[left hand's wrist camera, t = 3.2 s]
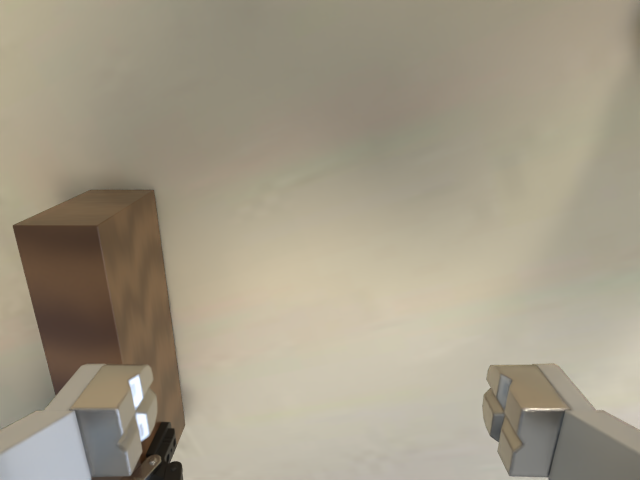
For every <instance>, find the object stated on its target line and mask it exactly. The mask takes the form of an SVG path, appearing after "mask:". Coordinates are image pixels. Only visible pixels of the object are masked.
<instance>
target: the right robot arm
mask: <svg viewBox="0 0 640 480" xmlns="http://www.w3.org/2000/svg"><path fill="white" fill-rule="evenodd" d="M176 447H177V443H176V435H175V428H172V427H171V422H161V424H160V426H159V428H158V430H157V432H156V434H155V436H154V438H153V440H152V442H151V444H150V446H149V449H148V451H147V453H146V459H145V461H144V462H143V463H142V464H141V465H140V466H139V467H138V468H137V469H136V470H135V471H134V472H133V473H132V474H131V476H123V477H122V478H121V479H120V480H183V475H182V472H183V470H182V464H181V463H180V462H177V461H175V462H171V463H170V461H171V459H172V457H173V454H174V451H175V449H176Z"/></svg>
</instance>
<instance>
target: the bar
mask: <svg viewBox="0 0 640 480" xmlns="http://www.w3.org/2000/svg"><path fill="white" fill-rule="evenodd" d="M13 229H14V233H15V237H16V241H17V245H18V249H19V253H20V257H21V261H22V265H23V269H24V273H25V277H26V280H27V284H28V288H29V292H30V296H31V300H32V304H33V308H34V312H35V316H36V320H37V324H38V328H39V332H40V336H41V340H42V343H43V347H44V351H45V355H46V359H47V363H48V367H49V371H50V375H51V379H52V383H53V387H54V391H55V395H57V394H58V393H59V391H60V390H61V389H62V388H63V387H64V386H65V384H66V383H67V382H68V381H69V380H70V378H71V377H72V376H73V375H74V374H75V372H76V371H77V370H78V369H79V368H80V367H81V366H82V365H85V364H142V365H149V366H150V367H151V369H152V373H153V378H154V380H153V381H152V383H151V385H150V387H149V388H150V389H151V390H152V391H153V392H154V393H155V394H156V397H157V417H156V421H155V426H154V428H153V430H152V433H151V435H150V436H149V437H148V438H146V439H145V440H144V441H142V442H141V445H142V451H143V452H142V454H141V456H140V458H139V460H138V462H137V464H136V466H135V468H134V470H133V472H134V471H135V470H136V469H137V468H138V467H139V466H140V465H141V464H142V463H143V462H144V461H145V459H146V453H147V451H148V449H149V446H150V444H151V442H152V440H153V438H154V436H155V434H156V432H157V430H158V428H159V426H160V424H161V422H171V427H172V428H175V435H176V443H177V444H178V441H179V439H180V437H181V434H182V432H183V429H184V427H185V420H184V412H183V405H182V397H181V390H180V382H179V375H178V367H177V360H176V352H175V345H174V337H173V330H172V322H171V315H170V307H169V300H168V292H167V285H166V277H165V270H164V262H163V255H162V247H161V240H160V232H159V225H158V217H157V210H156V202H155V195H154V190H89V191H87V192H85V193H83V194H81V195H78V196H76V197H74V198H72V199H70V200H67V201H65V202H63V203H61V204H59V205H56V206H54V207H52V208H50V209H48V210H45V211H43V212H41V213H39V214H37V215H35V216H32V217H30V218H28V219H26V220H24V221H21V222H19V223H17V224H15V225H13ZM133 472H132V473H133ZM122 477H123V476H117V477H91V480H120V479H121V478H122Z"/></svg>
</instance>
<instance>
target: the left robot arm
mask: <svg viewBox="0 0 640 480" xmlns="http://www.w3.org/2000/svg"><path fill="white" fill-rule="evenodd" d="M153 380H154V378H153V373H152V369H151V367H150V366H149V365H142V364H85V365H82V366H81V367H80V368H79V369H78V370H77V371H76V372H75V374H74V375H73V376H72V377H71V378H70V380H69V381H68V382H67V383H66V384H65V386H64V387H63V388H62V389H61V390H60V391H59V393H58V394H57V395H56V396H55V397H54V399H53V400H52V401H51V402H50V403H49V405H48V406H47V407H46V408H45V409H44V410H40V411H35V412H33V413H31V414H29V415H27V416H25V417H24V418H22V419H20V420H18V421H16V422H14V423H12V424H11V425H9V426H7V427H5V428H3V429H1V430H0V480H91V477H117V476H131V474H132V472H133V470H134V468H135V466H136V464H137V462H138V460H139V458H140V456H141V454H142V452H143V451H142V445H141V442H142V441H144V440H145V439H146V438H148V437H149V436H150V435H151V433H152V430H153V428H154V426H155V421H156V417H157V397H156V394H155V393H154V392H153V391H152V390H151V389H150V388H149V387H150V385H151V383H152V381H153ZM486 380H487V381H488V383H489V385H490V387H491V388H490V389H489V390H488V391H487V392H486V393H485V394H484V397H483V405H482V407H483V418H484V422H485V425H486V428H487V430H488V433H489V435H490V436H491V437H492V438H494V439H495V440H496V441H498V442H499V445H498V451H497V452H498V454H499V456H500V458H501V460H502V462H503V464H504V466H505V468H506V470H507V472H508V474H509V476H522V477H549V480H640V430H639V429H637V428H635V427H633V426H631V425H629V424H628V423H626V422H624V421H622V420H620V419H618V418H616V417H614V416H613V415H611V414H609V413H607V412H605V411H600V410H596V409H595V408H594V407H593V406H592V405H591V403H590V402H589V401H588V400H587V399H586V397H585V396H584V395H583V394H582V393H581V392H580V390H579V389H578V388H577V387H576V386H575V384H574V383H573V382H572V381H571V380H570V378H569V377H568V376H567V375H566V374H565V373H564V371H563V370H562V369H561V368H560V367H559V366H558V365H556V364H554V363H551V364H532V365H490V367H489V369H488V373H487V378H486Z"/></svg>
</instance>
